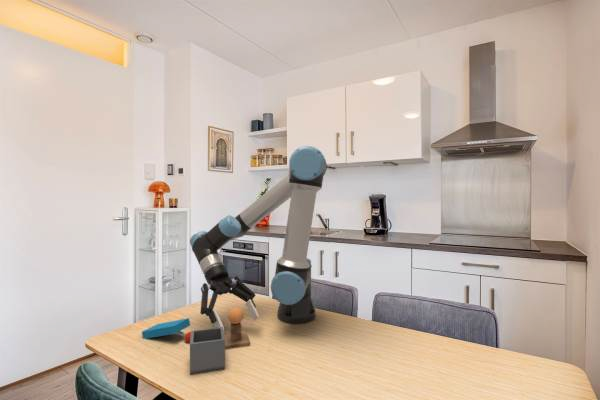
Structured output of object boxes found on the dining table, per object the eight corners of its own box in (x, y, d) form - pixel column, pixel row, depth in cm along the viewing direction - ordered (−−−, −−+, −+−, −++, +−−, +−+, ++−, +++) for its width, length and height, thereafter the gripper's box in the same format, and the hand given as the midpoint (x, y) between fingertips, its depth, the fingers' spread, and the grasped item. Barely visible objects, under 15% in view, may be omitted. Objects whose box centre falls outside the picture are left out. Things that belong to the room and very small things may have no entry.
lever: (145, 353, 102) (188, 346, 97) (141, 331, 103) (183, 324, 97) (161, 343, 109) (202, 337, 103) (157, 324, 110) (197, 316, 104)
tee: (246, 335, 105) (246, 317, 105) (250, 345, 97) (250, 326, 97) (222, 338, 103) (222, 320, 103) (224, 349, 95) (224, 329, 95)
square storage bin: (222, 353, 93) (222, 326, 93) (224, 369, 84) (224, 339, 84) (191, 358, 90) (191, 330, 90) (189, 374, 81) (189, 344, 81)
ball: (242, 319, 103) (242, 304, 103) (244, 325, 98) (244, 309, 98) (227, 321, 102) (227, 306, 102) (228, 327, 97) (228, 311, 97)
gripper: (238, 270, 120) (264, 319, 110) (176, 283, 101) (199, 343, 91) (247, 258, 116) (274, 308, 106) (184, 269, 98) (209, 330, 88)
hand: (239, 324), depth 99 cm, fingers open, 13 cm apart
